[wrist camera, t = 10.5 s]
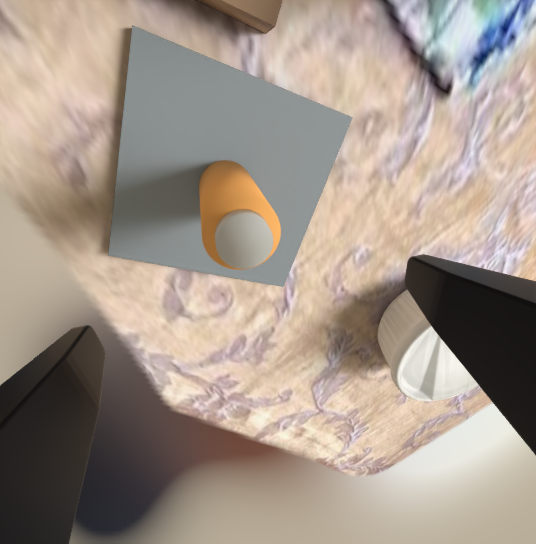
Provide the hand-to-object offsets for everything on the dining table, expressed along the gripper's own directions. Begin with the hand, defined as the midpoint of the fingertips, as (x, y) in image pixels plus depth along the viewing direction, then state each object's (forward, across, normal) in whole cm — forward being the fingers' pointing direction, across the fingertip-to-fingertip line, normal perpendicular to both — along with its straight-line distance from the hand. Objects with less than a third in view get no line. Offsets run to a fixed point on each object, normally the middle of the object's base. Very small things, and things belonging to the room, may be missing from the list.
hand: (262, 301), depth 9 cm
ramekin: (+13, -16, +15) cm, 25 cm away
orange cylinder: (+12, 0, 0) cm, 12 cm away
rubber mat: (+12, 0, 0) cm, 12 cm away
